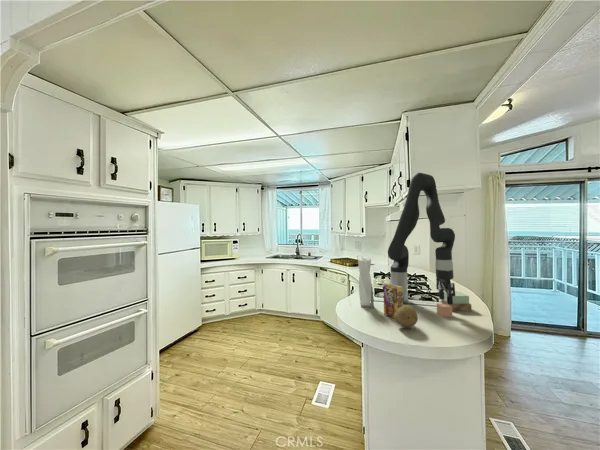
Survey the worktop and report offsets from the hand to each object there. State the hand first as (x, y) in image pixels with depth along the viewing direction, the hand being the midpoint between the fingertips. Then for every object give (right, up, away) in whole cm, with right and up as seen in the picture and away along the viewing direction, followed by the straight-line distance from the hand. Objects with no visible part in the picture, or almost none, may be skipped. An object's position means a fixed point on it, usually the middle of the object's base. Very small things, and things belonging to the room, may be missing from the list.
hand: (445, 301), depth 125 cm
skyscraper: (-35, -8, +18) cm, 40 cm away
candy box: (-26, -8, 0) cm, 27 cm away
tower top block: (+11, -3, +10) cm, 15 cm away
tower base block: (+11, -7, +10) cm, 16 cm away
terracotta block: (-1, -7, 0) cm, 7 cm away
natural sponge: (-25, -7, -15) cm, 31 cm away
